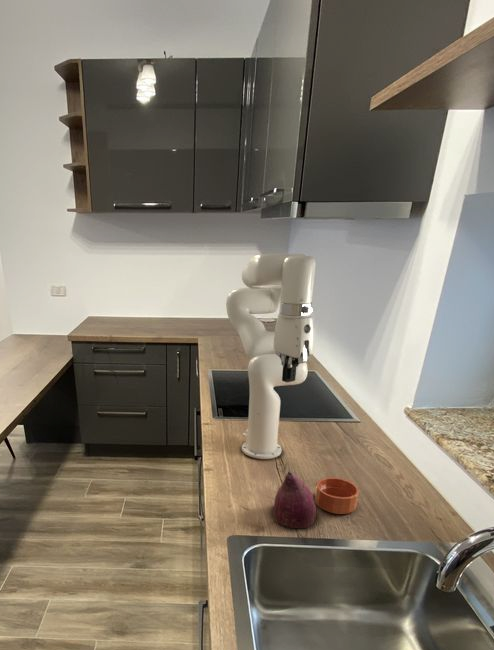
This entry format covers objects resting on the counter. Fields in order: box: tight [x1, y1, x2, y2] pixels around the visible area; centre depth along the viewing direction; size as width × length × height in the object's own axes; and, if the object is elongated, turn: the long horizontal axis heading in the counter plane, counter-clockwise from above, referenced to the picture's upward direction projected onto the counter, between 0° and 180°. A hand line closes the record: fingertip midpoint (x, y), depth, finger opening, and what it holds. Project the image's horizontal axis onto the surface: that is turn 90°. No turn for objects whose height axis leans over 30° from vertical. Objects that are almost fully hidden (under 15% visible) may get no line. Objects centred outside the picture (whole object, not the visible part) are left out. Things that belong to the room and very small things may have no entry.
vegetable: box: [273, 470, 317, 529], centre depth 107 cm, size 10×10×15 cm
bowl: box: [314, 476, 360, 515], centre depth 114 cm, size 10×10×5 cm
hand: (288, 380), depth 117 cm, fingers closed
